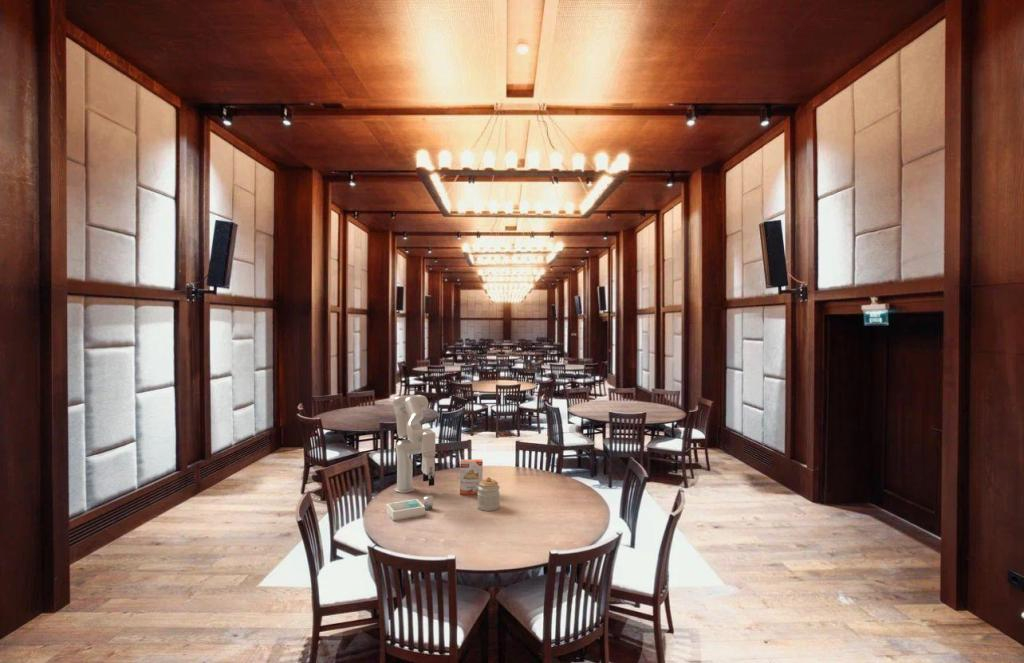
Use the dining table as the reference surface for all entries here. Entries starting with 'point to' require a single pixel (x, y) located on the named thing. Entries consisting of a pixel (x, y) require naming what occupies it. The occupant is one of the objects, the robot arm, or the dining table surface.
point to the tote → (404, 510)
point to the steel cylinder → (428, 502)
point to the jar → (488, 495)
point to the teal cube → (412, 504)
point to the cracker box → (470, 476)
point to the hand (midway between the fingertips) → (428, 483)
